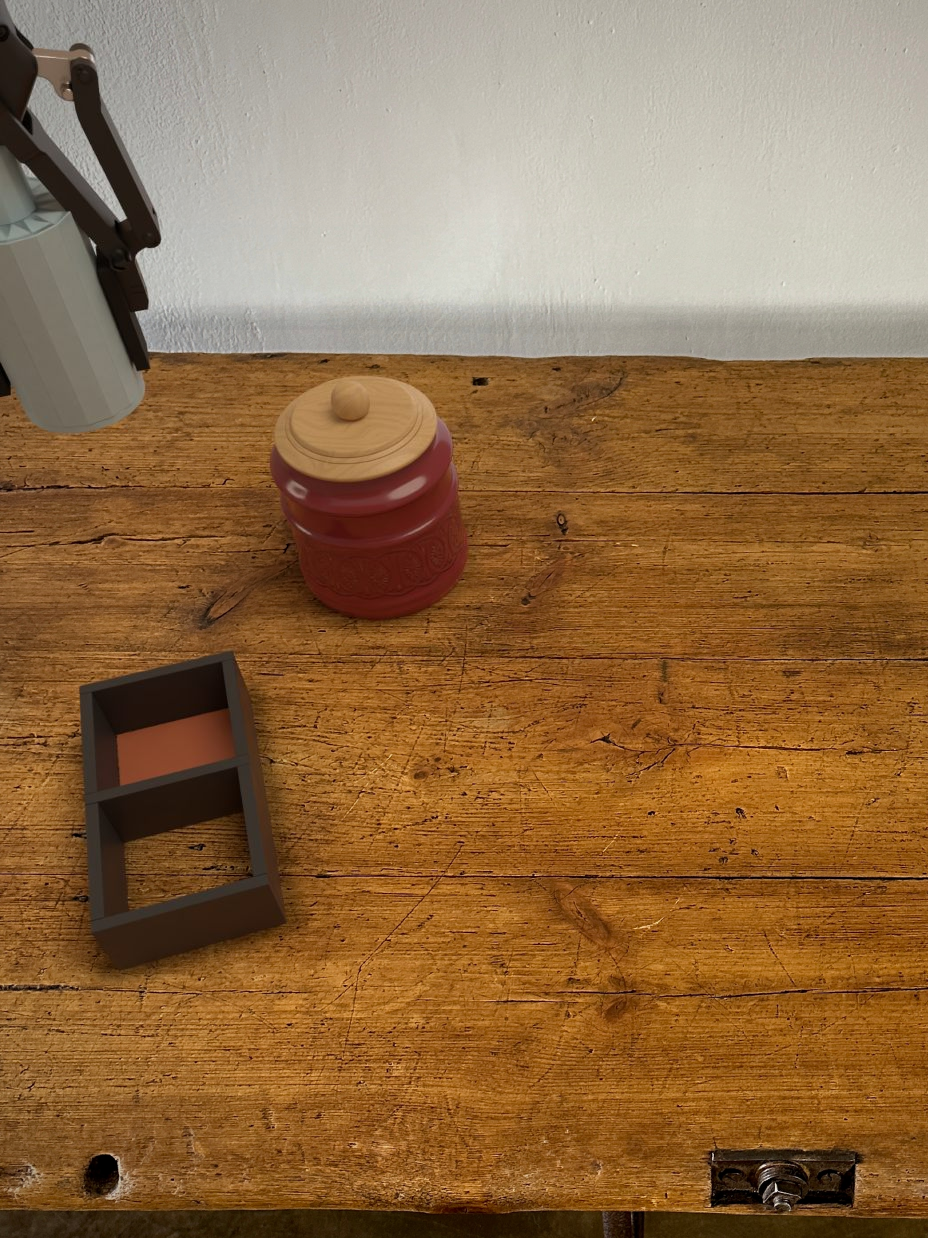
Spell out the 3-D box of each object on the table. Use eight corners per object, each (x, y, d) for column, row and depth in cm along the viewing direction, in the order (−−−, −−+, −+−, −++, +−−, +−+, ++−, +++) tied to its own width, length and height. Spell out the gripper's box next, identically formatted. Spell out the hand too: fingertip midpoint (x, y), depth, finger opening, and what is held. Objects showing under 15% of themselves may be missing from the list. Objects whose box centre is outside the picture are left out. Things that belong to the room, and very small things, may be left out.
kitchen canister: (272, 600, 93) (209, 418, 80) (358, 495, 101) (314, 312, 87) (422, 647, 91) (384, 467, 77) (498, 535, 98) (475, 353, 85)
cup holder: (107, 735, 85) (78, 685, 81) (252, 700, 87) (232, 649, 83) (123, 976, 73) (90, 933, 69) (289, 928, 76) (268, 883, 71)
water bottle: (2, 425, 70) (-135, 159, 58) (63, 356, 75) (-53, 95, 62) (110, 441, 69) (-5, 176, 57) (165, 371, 74) (69, 110, 61)
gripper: (-394, -6, 48) (-115, 445, 66) (125, -62, 53) (255, 373, 70) (-363, -73, 53) (-109, 365, 70) (114, -120, 57) (239, 303, 75)
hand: (73, 369), depth 70 cm, fingers closed on water bottle, 7 cm apart
